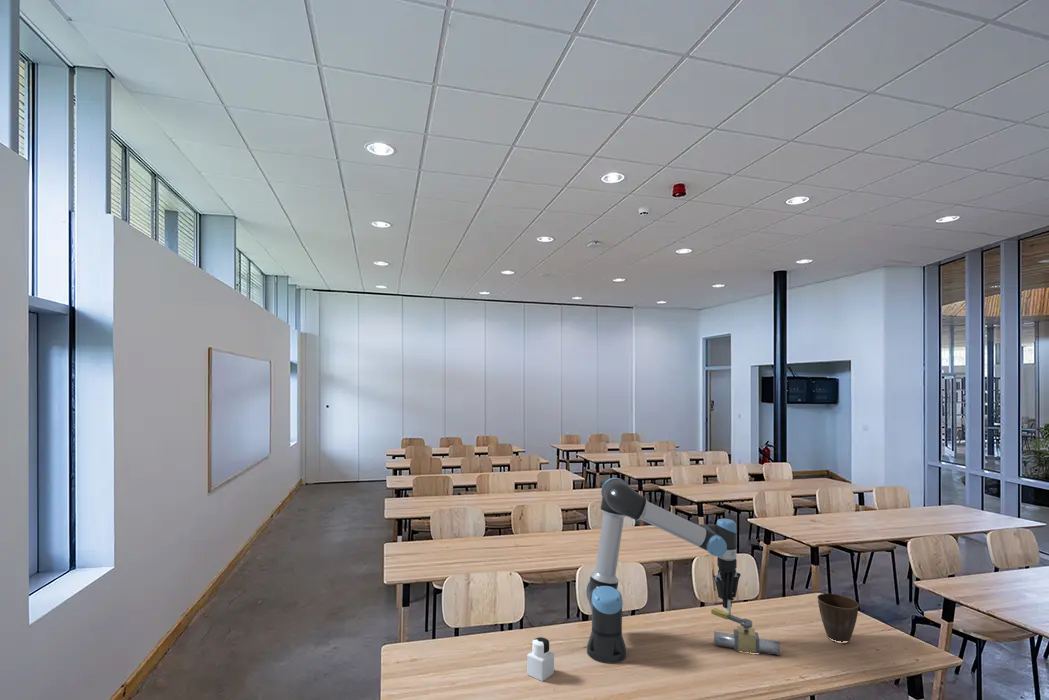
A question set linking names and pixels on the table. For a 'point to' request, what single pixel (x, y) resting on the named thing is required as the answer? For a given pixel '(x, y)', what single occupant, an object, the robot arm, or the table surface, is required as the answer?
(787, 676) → the table surface
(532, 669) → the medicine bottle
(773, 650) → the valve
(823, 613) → the plant pot
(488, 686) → the table surface
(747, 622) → the lever
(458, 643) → the table surface
